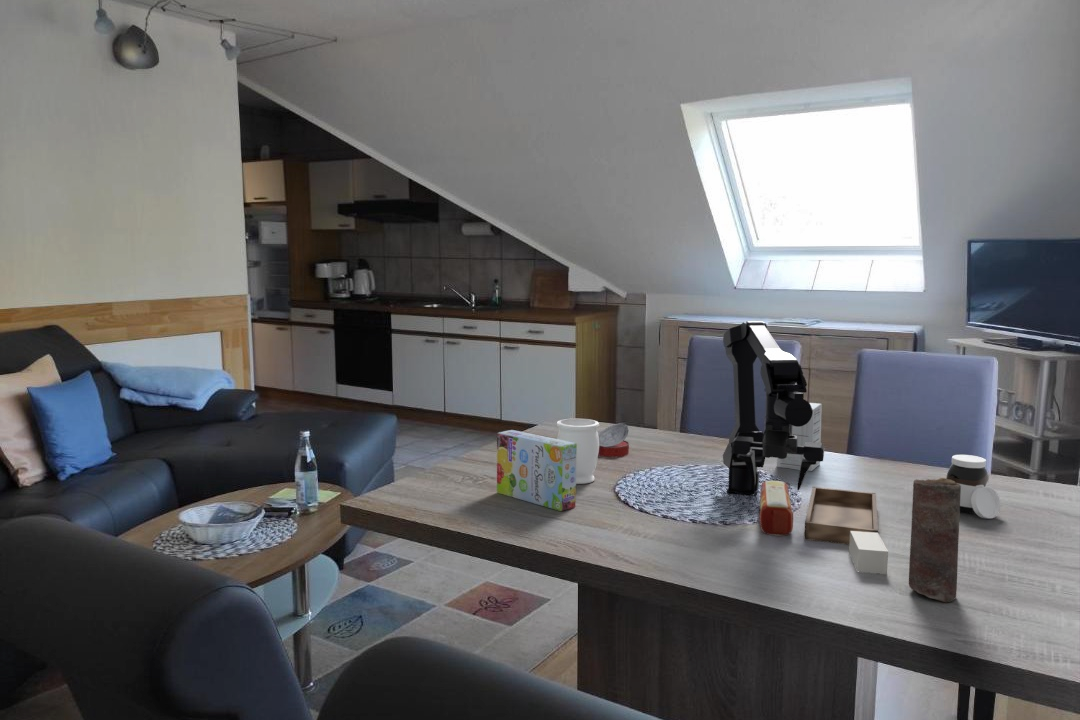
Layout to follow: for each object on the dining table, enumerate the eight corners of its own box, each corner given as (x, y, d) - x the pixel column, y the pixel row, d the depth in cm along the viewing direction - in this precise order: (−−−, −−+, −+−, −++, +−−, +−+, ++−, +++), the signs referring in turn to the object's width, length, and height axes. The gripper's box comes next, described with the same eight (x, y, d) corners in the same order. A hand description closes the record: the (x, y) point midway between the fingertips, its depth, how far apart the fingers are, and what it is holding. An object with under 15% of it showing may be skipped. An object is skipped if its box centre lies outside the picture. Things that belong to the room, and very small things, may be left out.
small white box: (857, 573, 148) (858, 549, 147) (848, 553, 157) (850, 530, 157) (886, 575, 147) (888, 551, 146) (876, 555, 156) (877, 532, 156)
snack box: (577, 507, 185) (578, 442, 183) (561, 512, 181) (561, 446, 179) (511, 488, 199) (511, 428, 197) (495, 493, 195) (494, 431, 193)
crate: (804, 539, 164) (804, 522, 164) (811, 501, 189) (812, 486, 188) (877, 548, 159) (878, 530, 159) (875, 508, 184) (876, 493, 183)
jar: (550, 483, 203) (550, 424, 201) (565, 472, 213) (565, 416, 211) (591, 487, 199) (591, 427, 197) (604, 477, 209) (604, 419, 207)
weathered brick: (907, 599, 136) (915, 483, 133) (905, 582, 143) (912, 471, 140) (958, 606, 133) (967, 488, 131) (953, 589, 140) (961, 476, 137)
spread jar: (955, 500, 190) (958, 451, 188) (1008, 511, 182) (1012, 460, 180) (935, 511, 182) (939, 460, 180) (991, 523, 174) (995, 470, 172)
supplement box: (820, 464, 221) (823, 403, 219) (812, 472, 213) (815, 409, 211) (785, 459, 226) (788, 399, 224) (775, 466, 219) (778, 405, 216)
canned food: (627, 471, 232) (633, 445, 226) (592, 467, 232) (596, 441, 226) (626, 444, 241) (631, 419, 235) (592, 441, 241) (597, 415, 235)
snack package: (759, 504, 187) (760, 476, 186) (789, 507, 186) (790, 478, 185) (758, 535, 167) (760, 503, 166) (792, 538, 165) (794, 506, 164)
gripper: (728, 420, 169) (726, 493, 171) (823, 427, 162) (819, 503, 165) (736, 410, 179) (734, 479, 182) (826, 416, 173) (822, 488, 175)
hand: (776, 487), depth 175 cm, fingers open, 9 cm apart
